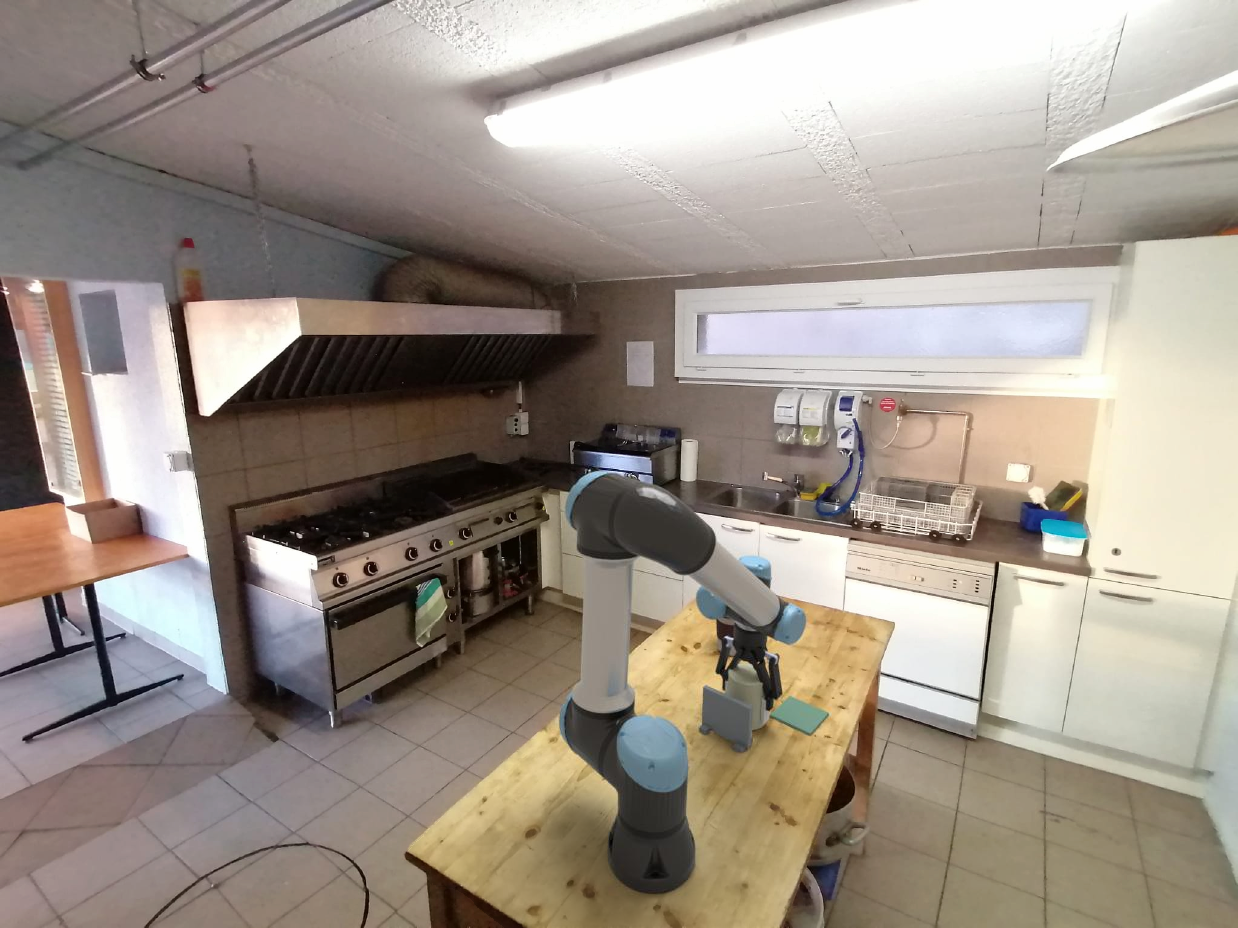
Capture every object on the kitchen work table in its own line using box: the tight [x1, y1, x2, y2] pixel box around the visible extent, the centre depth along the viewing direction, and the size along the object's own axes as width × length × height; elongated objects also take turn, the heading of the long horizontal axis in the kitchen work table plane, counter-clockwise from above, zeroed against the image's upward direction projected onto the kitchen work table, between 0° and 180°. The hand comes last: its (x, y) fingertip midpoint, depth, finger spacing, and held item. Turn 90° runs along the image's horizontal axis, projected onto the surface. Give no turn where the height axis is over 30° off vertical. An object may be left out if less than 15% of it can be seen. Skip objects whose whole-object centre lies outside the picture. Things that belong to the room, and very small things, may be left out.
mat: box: [769, 695, 830, 737], centre depth 139 cm, size 10×10×1 cm
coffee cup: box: [715, 617, 736, 657], centre depth 167 cm, size 10×10×15 cm
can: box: [728, 662, 767, 731], centre depth 137 cm, size 9×9×12 cm
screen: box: [698, 684, 754, 754], centre depth 131 cm, size 5×12×10 cm, turn 48°
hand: (746, 711), depth 138 cm, fingers closed on can, 9 cm apart
